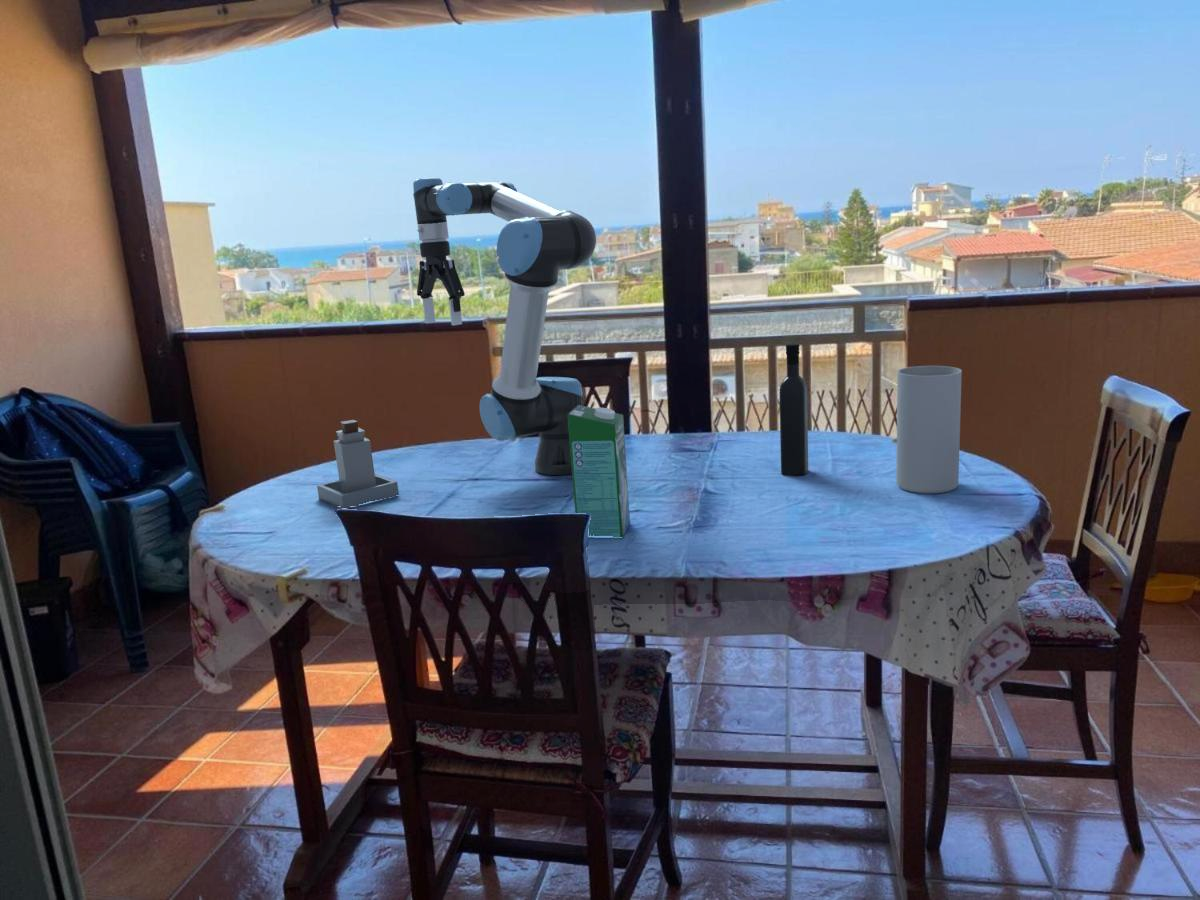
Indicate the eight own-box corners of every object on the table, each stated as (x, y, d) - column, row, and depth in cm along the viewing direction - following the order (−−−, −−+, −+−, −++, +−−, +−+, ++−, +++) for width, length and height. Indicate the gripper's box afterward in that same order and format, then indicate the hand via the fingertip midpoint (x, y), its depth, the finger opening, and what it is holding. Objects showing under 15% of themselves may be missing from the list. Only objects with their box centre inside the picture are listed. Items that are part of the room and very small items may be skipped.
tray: (399, 495, 214) (397, 481, 214) (343, 510, 206) (341, 495, 205) (372, 485, 225) (370, 472, 224) (319, 499, 216) (316, 485, 216)
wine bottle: (780, 475, 209) (777, 346, 202) (784, 468, 214) (782, 342, 207) (805, 476, 207) (803, 346, 199) (809, 469, 212) (807, 342, 204)
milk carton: (622, 538, 175) (614, 412, 168) (577, 538, 176) (567, 413, 170) (630, 523, 183) (622, 402, 177) (586, 523, 185) (577, 404, 179)
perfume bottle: (349, 501, 211) (338, 426, 206) (341, 495, 216) (330, 422, 212) (377, 495, 214) (367, 421, 209) (369, 489, 220) (359, 417, 215)
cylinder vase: (967, 482, 194) (971, 367, 187) (943, 498, 185) (946, 377, 179) (911, 475, 202) (913, 364, 196) (886, 489, 193) (887, 374, 187)
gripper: (398, 243, 239) (407, 323, 244) (446, 240, 220) (455, 327, 225) (423, 241, 243) (432, 320, 249) (472, 238, 225) (481, 323, 230)
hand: (443, 323), depth 237 cm, fingers open, 13 cm apart
